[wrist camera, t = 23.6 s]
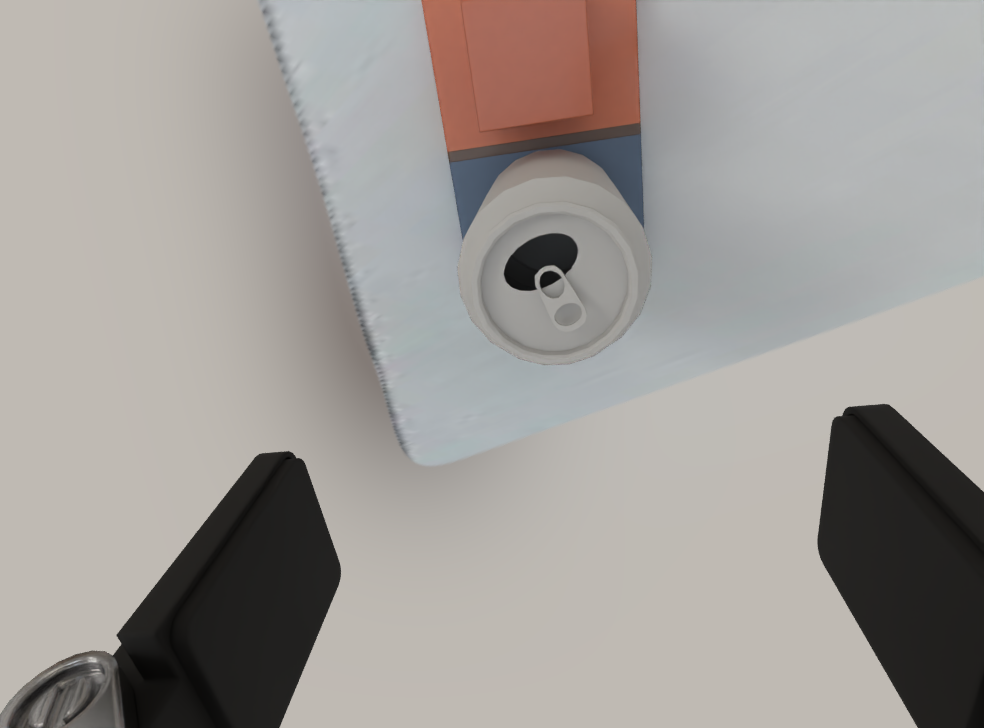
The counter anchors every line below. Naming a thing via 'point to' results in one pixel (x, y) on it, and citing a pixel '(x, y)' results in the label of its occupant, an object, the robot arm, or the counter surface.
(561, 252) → the can
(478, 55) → the terracotta block
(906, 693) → the robot arm
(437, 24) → the sorting board
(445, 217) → the counter surface
